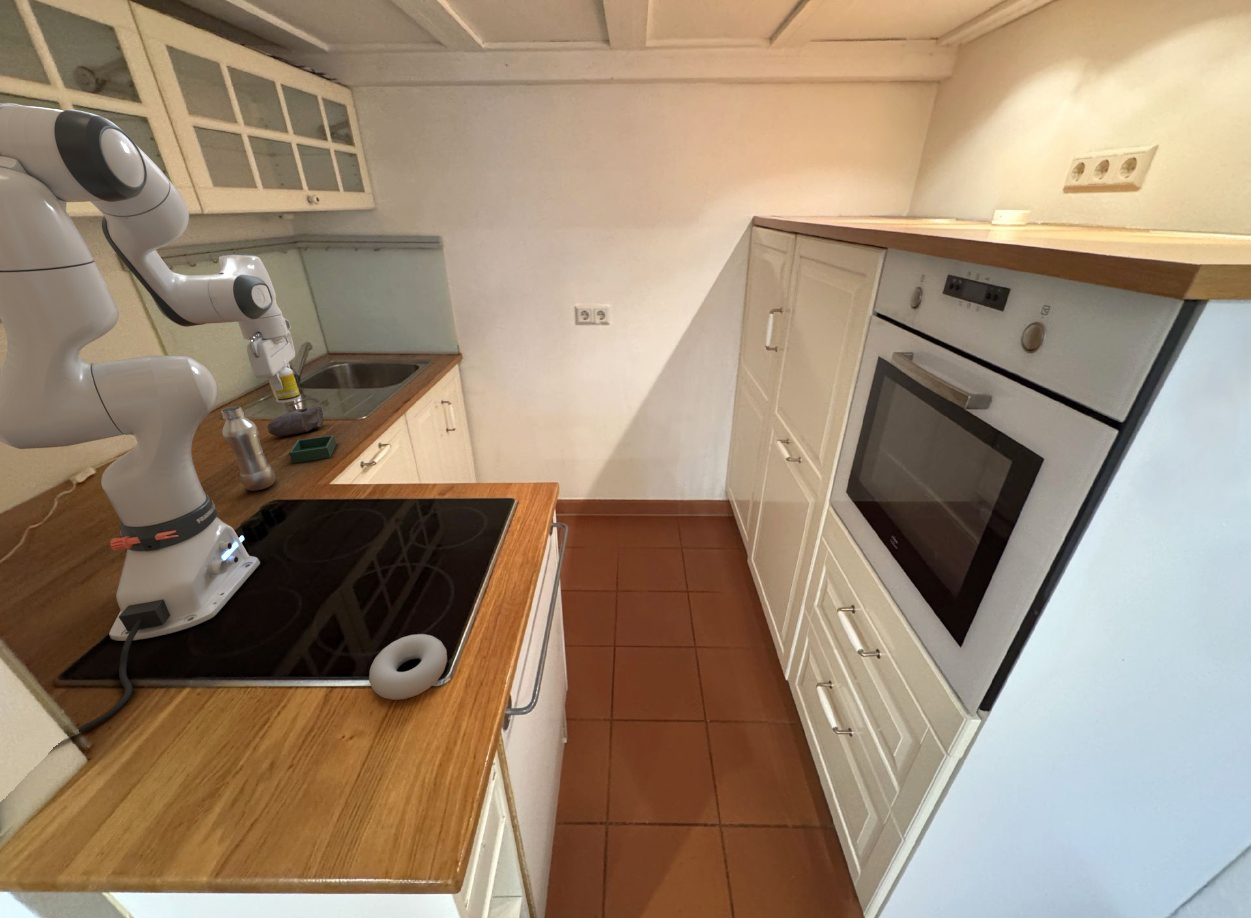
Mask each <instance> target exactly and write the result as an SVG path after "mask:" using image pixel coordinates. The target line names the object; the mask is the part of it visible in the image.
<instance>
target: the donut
mask: <svg viewBox="0 0 1251 918" xmlns="http://www.w3.org/2000/svg"><path fill="white" fill-rule="evenodd" d="M447 654H448V652H447V648H446V647H445V645H444V644H443V642H442V641H441V640H440V639H438V638H437V637H435V636H433V635H430V634H425V633H421V634H420V633H417V634H410V635H407V636H403V637H400V638H398V639H396V640H394V641H392V642H391V643H390V644H388V645H387V646H385V647H384V648H382V650H381V651H380V652H379V653H378V654H377V655H376V656H375V658H374V659H373V661H372V663H371V665H370V668H369V675H368V682H369V684H370V686H371V689H372V690H373V692H374V693H375V694H377V695H378V696H380V697H381V698H383V699H387V700H391V701H398V700H407V699H409V698H413V697H416V696H418V695H420V694H422V693H424V692H426V691H427V690H428V689H430V688H432V686H433V685H434V684H436V683H437V682H438V681H439V679H440V678H441V677H442V675H443V673H444V671H445V669H446V666H447V663H448V655H447ZM412 660H420V662H419V663H418V664H417V665H416V666H415V667H413V668H412V669H409V670H406V671H398V669H399V668H400V667H401V666H402V665H403V664H405V663H407V662H409V661H412Z"/></svg>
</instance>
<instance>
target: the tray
mask: <svg viewBox="0 0 1251 918" xmlns="http://www.w3.org/2000/svg"><path fill="white" fill-rule="evenodd" d="M336 447H337V442H336V438H335V436H334V434H333V435H332V434H331V435H324V436H318V437H311V438H303V439H297V440H296V442H295V443H294V445H293V446H292V448H291V449H290V450H289V453H288V455H289V457H290V460H291V462H292V464H297V463H303V462H310V461H317V460H324V459H330V458H331V457H332V455H333V453H334V451H335V449H336Z"/></svg>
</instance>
